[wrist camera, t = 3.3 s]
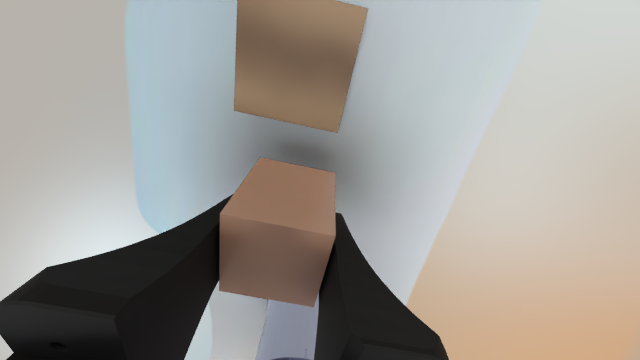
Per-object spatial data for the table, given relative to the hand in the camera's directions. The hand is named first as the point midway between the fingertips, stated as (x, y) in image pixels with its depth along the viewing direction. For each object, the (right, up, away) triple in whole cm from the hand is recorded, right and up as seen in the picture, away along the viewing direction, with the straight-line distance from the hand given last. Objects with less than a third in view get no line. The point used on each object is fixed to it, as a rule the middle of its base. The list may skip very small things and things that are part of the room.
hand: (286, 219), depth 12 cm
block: (0, +1, +2) cm, 2 cm away
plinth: (0, +10, +4) cm, 11 cm away
